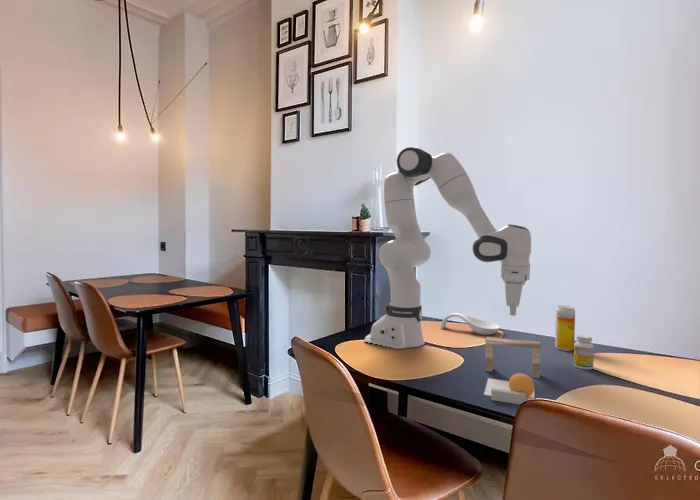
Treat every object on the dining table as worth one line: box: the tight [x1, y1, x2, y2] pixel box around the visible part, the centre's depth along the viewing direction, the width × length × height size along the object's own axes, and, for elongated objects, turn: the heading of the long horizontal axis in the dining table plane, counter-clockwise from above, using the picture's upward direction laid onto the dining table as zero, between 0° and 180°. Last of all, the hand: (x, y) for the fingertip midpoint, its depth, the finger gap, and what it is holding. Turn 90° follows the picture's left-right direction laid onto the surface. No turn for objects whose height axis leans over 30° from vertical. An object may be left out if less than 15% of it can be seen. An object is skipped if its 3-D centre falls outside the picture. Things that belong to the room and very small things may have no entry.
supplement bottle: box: [573, 334, 595, 370], centre depth 125 cm, size 5×5×10 cm
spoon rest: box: [440, 312, 501, 336], centre depth 168 cm, size 24×12×7 cm, turn 61°
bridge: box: [484, 336, 542, 379], centre depth 121 cm, size 3×15×10 cm, turn 66°
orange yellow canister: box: [554, 305, 576, 352], centre depth 143 cm, size 6×6×15 cm
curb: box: [490, 388, 526, 405], centre depth 101 cm, size 8×2×2 cm, turn 66°
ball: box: [508, 372, 535, 398], centre depth 104 cm, size 6×6×6 cm
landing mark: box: [483, 377, 536, 400], centre depth 108 cm, size 12×12×1 cm
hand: (512, 314), depth 136 cm, fingers closed
